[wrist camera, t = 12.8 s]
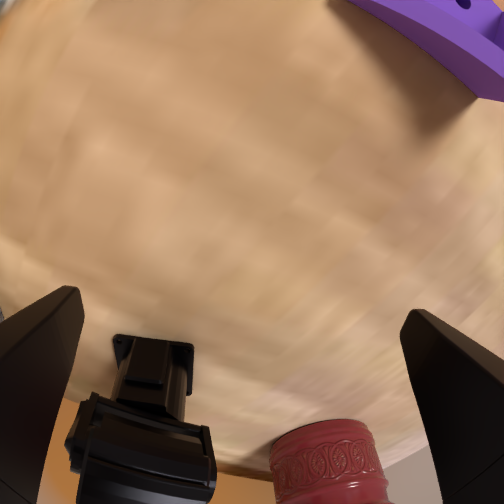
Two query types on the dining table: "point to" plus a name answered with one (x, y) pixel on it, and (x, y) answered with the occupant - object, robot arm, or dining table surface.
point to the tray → (1, 316)
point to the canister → (328, 465)
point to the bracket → (453, 37)
